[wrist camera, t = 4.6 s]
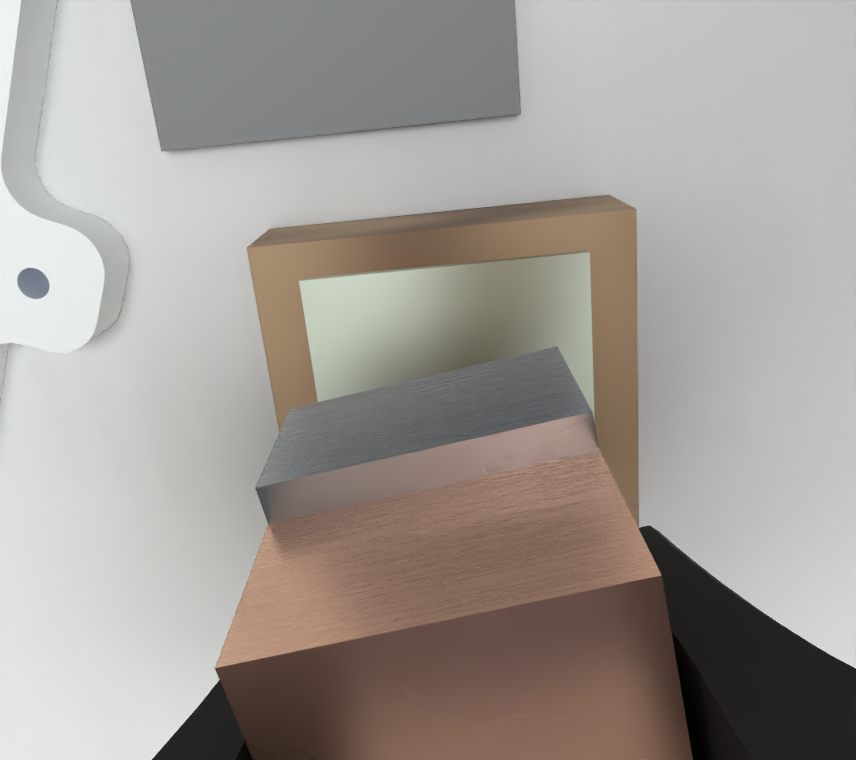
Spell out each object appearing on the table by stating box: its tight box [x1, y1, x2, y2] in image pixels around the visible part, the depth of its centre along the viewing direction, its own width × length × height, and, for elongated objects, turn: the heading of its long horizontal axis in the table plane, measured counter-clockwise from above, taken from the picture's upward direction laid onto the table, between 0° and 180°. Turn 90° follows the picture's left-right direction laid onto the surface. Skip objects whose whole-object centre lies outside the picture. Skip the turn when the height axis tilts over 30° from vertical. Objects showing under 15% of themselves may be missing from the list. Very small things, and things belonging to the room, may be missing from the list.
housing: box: [215, 346, 693, 760], centre depth 10 cm, size 4×6×5 cm, turn 14°
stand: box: [247, 195, 639, 528], centre depth 18 cm, size 8×9×3 cm
